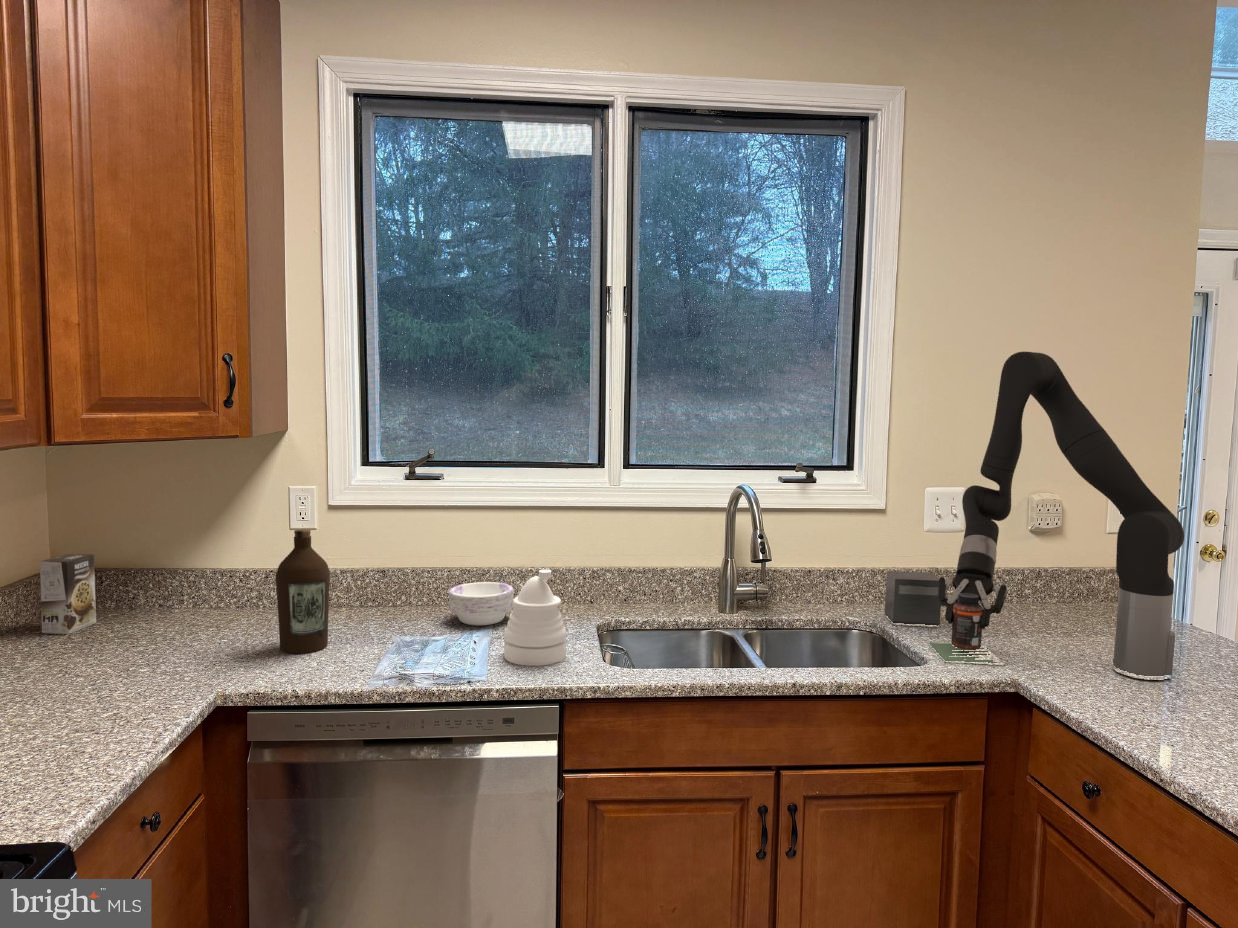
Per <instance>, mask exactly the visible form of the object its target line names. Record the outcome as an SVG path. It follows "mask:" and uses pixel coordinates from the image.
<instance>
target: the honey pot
mask: <svg viewBox="0 0 1238 928" xmlns="http://www.w3.org/2000/svg"><path fill="white" fill-rule="evenodd" d="M538 575H539V576H537V575H536V576H533V577H530V578H529V579H528V580H527V581H526V582H525V584H523V586H522V588H521V590H520V592H519V593H518V595H517V596H516V597H515V598H514V597H513V598H514V599H513V604H514V605H513V608H512V611H511V613H510V614H509V619H508V621H507V625H506V627H505V629H504V633H503V634H504V639H503V640H504V641H503V642H504V643H503V645H504V646H503V649H504V651H503V652H504V653H503V658H504V659H505V660H506V661H507V662H509V663H512V664H514V665H519V666H527V667H532V666H533V667H538V666H539V667H540V666H548V665H552V664H553V665H554V664H557V663H559V662H561V661H564V660H565V659H566V657H567V630H566V627H565V626H564V621H563V619H562V618H563V617H562V613H561V612H560V609H559V606H560V605H561V604H562V600H561V598H560V597H558V596H557V595H554V594H553V591H552V590H551V588H550V586H549V584H548V583H547V582H546V581H548V580H549V579H550V578H551V576H552V570H550V569H540V570H538Z"/></svg>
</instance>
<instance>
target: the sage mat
mask: <svg viewBox="0 0 1238 928" xmlns="http://www.w3.org/2000/svg"><path fill="white" fill-rule="evenodd" d="M929 644H930V645H931V646H932V647H933V648H934V649H935V650H936V652H937V653H939V655H940V656H941V657H942V658H943V659H944V660H945V661H965V662H988V663H990V662H991V663H997V662H993V660H975V658H979V657H949V656H955V655H956V656H967V655H969V656H972V655H987V654H952V653H969V652H974V653H975V652H988V651H964V650H967V649H961V648H955V646H952V643H944V642H941V643H940V642H928V645H929ZM979 649H984V648H979ZM987 649H989V648H988V647H987ZM952 650H963V651H952ZM991 652H993V651H992V650H991ZM988 655H990V654H988ZM964 659H966V660H964Z"/></svg>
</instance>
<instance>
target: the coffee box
mask: <svg viewBox="0 0 1238 928" xmlns="http://www.w3.org/2000/svg"><path fill="white" fill-rule="evenodd" d="M39 573H40V575H39V577H40V579H39V580H40V605H41V606H40V607H41V608H40V610H41V611H40V613H41V615H40V616H41V634H56V635H70V634H72V633H75V632H78V631H80V630H82V629H84V628H87V627H89V626H92V625H94V624H96V623H97V608H96V607H97V606H96V579H95V578H96V576H95V554H94V553H76V554H75V553H74V554H73V553H67V554H64V555H59V556H56V557H51V558H48V559H45V560H40V561H39Z"/></svg>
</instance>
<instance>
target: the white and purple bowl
mask: <svg viewBox="0 0 1238 928" xmlns="http://www.w3.org/2000/svg"><path fill="white" fill-rule="evenodd" d="M448 591H449V592H448V600H449V602H448V604H449V605H448V606H449V611H450V612H451V613H453V614H454V615H455V614H456V616H457V618H458V619H459V621H460V622H462V623H463V624H465V625H469V626H477V627H478V626H479V627H480V626H491V625H495V624H498V623H500V622H502V621H503V620H504V618H505V616H506V613H507V612H510V611H511V610H513V608H514V604H513V599H514V593H515V591H514V588H513V586H512V585H510V584H507V583H503V582H494V581H480V582H479V581H478V582H470V583H469V582H468V583H463V584H459V585H455V586H454V587H453V586H452V587H451V588H450V589H449V590H448Z"/></svg>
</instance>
